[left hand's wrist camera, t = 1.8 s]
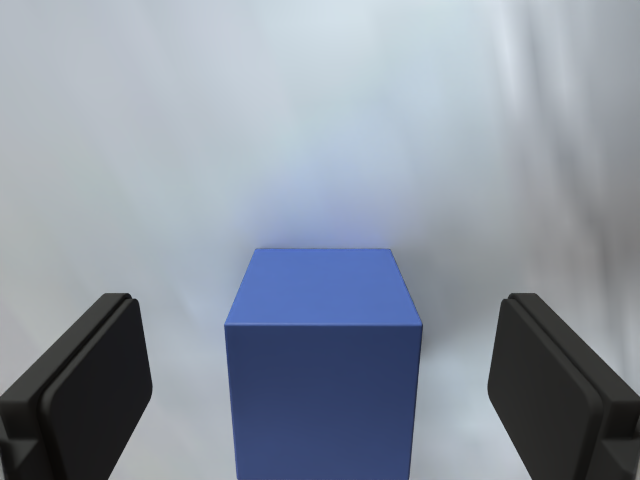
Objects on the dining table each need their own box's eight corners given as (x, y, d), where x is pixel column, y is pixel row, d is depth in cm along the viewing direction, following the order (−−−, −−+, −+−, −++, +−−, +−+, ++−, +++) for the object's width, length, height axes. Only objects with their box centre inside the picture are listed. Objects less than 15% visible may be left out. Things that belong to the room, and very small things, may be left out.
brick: (255, 248, 13) (223, 323, 9) (390, 248, 13) (424, 323, 9) (261, 367, 15) (236, 481, 10) (384, 367, 15) (409, 481, 10)
